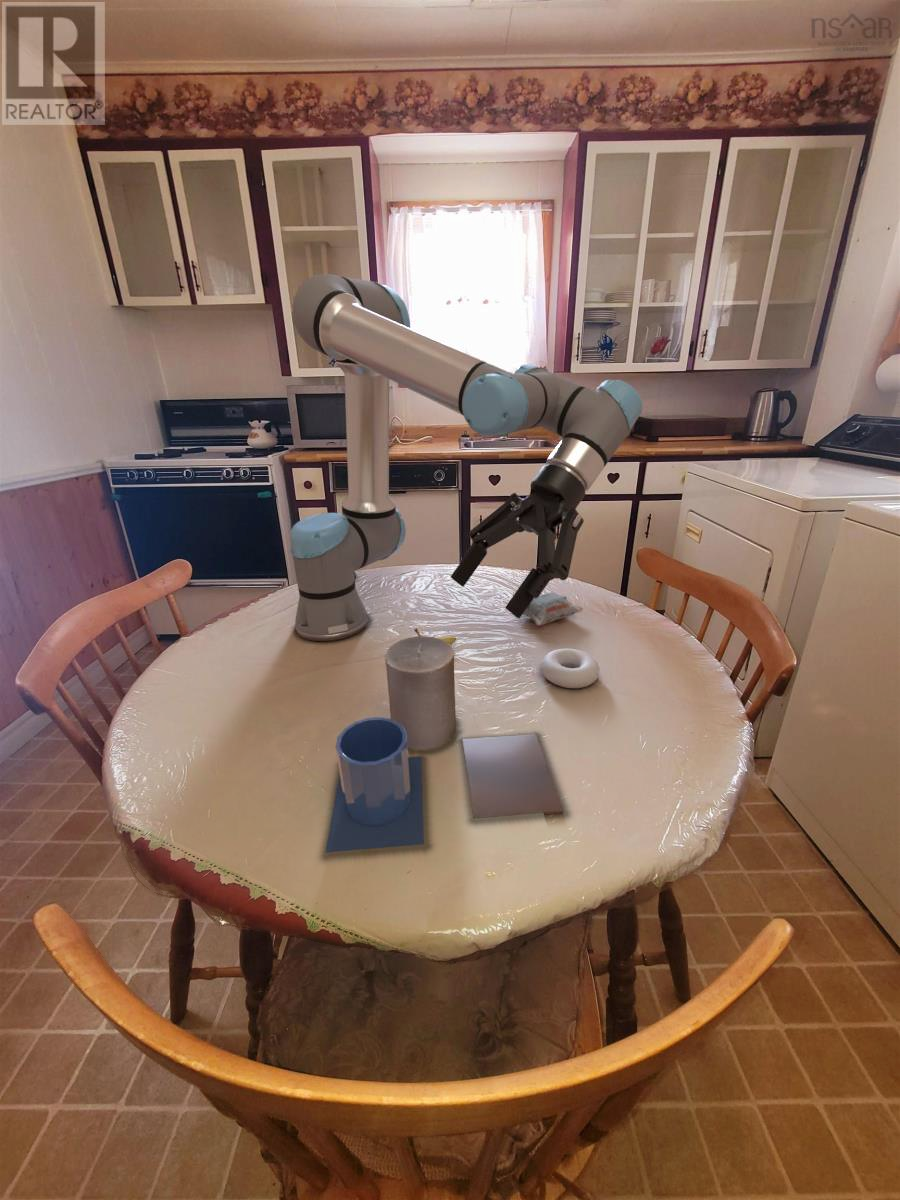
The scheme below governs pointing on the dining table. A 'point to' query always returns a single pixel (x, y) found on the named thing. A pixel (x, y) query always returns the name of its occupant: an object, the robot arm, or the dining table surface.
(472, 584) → the dining table surface
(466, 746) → the gray board
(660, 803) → the dining table surface
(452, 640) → the banana
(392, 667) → the pillar candle
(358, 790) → the blue cup
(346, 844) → the blue mat
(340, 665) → the dining table surface
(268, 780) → the dining table surface
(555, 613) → the packaged food
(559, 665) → the donut
